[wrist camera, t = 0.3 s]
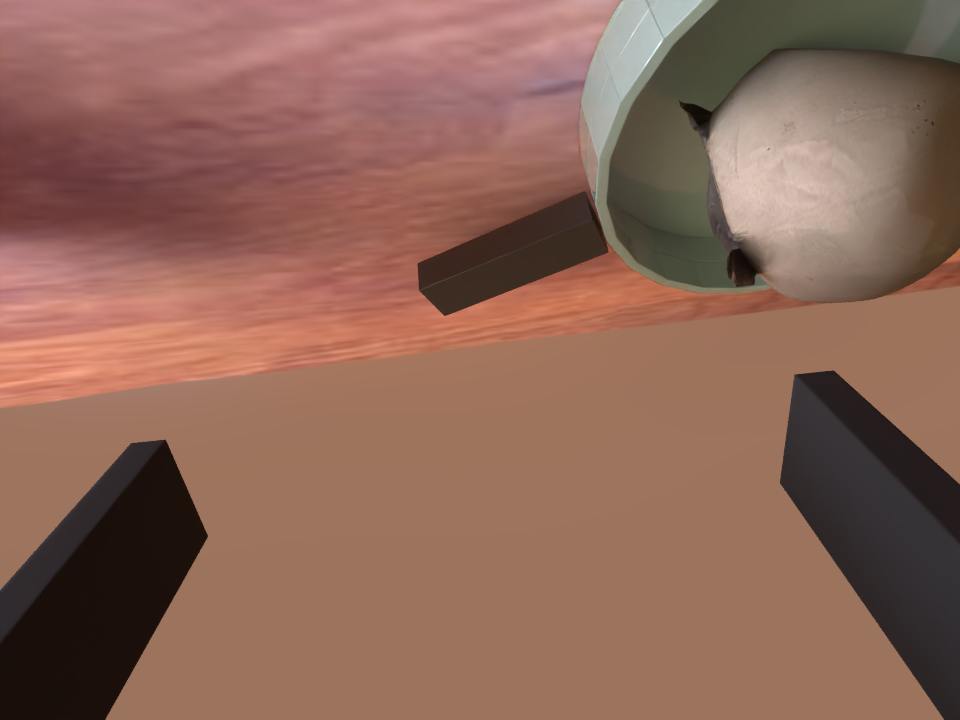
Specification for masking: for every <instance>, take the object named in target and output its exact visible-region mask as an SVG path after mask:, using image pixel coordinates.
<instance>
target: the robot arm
mask: <svg viewBox="0 0 960 720" xmlns="http://www.w3.org/2000/svg"><path fill="white" fill-rule="evenodd" d="M780 484H781V485H782V486H783V488H784V489H785V491H786V492H787V494H788V495H789V497H790V498H791V499H792V501H793V502H794V504H795V505H796V507H797V508H798V509H799V511H800V512H801V514H802V515H803V517H804V518H805V520H806V521H807V523H808V524H809V525H810V527H811V528H812V530H813V531H814V533H815V534H816V535H817V537H818V538H819V540H820V541H821V543H822V544H823V546H824V547H825V548H826V550H827V551H828V553H829V554H830V556H831V557H832V558H833V560H834V561H835V563H836V564H837V566H838V567H839V569H840V570H841V571H842V573H843V574H844V576H845V577H846V578H847V580H848V582H849V583H850V584H851V586H852V587H853V589H854V590H855V592H856V593H857V595H858V596H859V597H860V599H861V600H862V602H863V603H864V604H865V606H866V607H867V609H868V610H869V612H870V613H871V615H872V616H873V617H874V619H875V620H876V622H877V623H878V625H879V626H880V628H881V629H882V631H883V632H884V633H885V635H886V636H887V638H888V639H889V641H890V642H891V643H892V645H893V646H894V648H895V649H896V651H897V652H898V653H899V655H900V656H901V658H902V659H903V661H904V662H905V664H906V665H907V666H908V668H909V669H910V671H911V672H912V674H913V675H914V677H915V678H916V679H917V681H918V682H919V684H920V685H921V687H922V688H923V690H924V691H925V692H926V694H927V695H928V697H929V698H930V700H931V701H932V703H933V704H934V705H935V707H936V708H937V710H938V711H939V713H940V714H941V716H942V717H943V718H944V720H960V484H958V482H957V481H955V480H954V479H953V478H952V477H951V476H950V475H949V474H948V473H947V472H945V471H944V470H943V469H942V468H941V467H940V466H939V465H937V463H935V462H934V461H933V460H932V459H931V458H930V457H929V456H928V455H927V454H925V453H924V452H923V451H922V450H921V449H920V448H919V447H918V446H917V445H915V444H914V443H913V442H912V441H911V440H910V439H909V438H908V437H907V436H906V435H904V434H903V433H902V432H901V431H900V430H899V429H898V428H897V427H896V426H895V425H893V424H892V423H891V422H890V421H889V420H888V419H887V418H886V417H885V416H883V415H882V414H881V413H880V412H879V411H878V410H877V409H876V408H874V407H873V406H872V405H871V404H870V403H869V402H868V401H867V400H866V399H865V398H863V397H862V396H861V395H860V394H859V393H858V392H857V391H856V390H854V388H852V387H851V386H850V385H849V384H848V383H847V382H846V381H845V380H844V379H843V378H841V377H840V376H839V375H838V374H837V373H836V372H835V371H825V372H816V373H805V374H797V375H794V383H793V390H792V398H791V405H790V412H789V420H788V427H787V434H786V442H785V449H784V456H783V464H782V471H781V479H780ZM207 537H208V535H207V533H206V531H205V529H204V526H203V524H202V522H201V520H200V517H199V515H198V512H197V510H196V508H195V505H194V503H193V501H192V499H191V497H190V494H189V492H188V490H187V487H186V485H185V483H184V480H183V478H182V476H181V474H180V471H179V469H178V467H177V464H176V462H175V460H174V458H173V455H172V453H171V451H170V448H169V446H168V444H167V442H166V440H158V441H149V442H139V443H131V444H130V445H129V446H128V447H127V449H126V450H125V451H124V452H123V453H122V454H121V455H120V457H119V458H118V459H117V460H116V461H115V462H114V463H113V464H112V466H111V467H110V468H109V469H108V470H107V471H106V472H105V473H104V475H103V476H102V477H101V478H100V479H99V480H98V481H97V482H96V483H95V485H94V486H93V487H92V488H91V489H90V490H89V491H88V492H87V493H86V495H85V496H84V497H83V498H82V499H81V500H80V501H79V502H78V504H77V505H76V506H75V507H74V508H73V509H72V510H71V511H70V513H69V514H68V515H67V516H66V517H65V518H64V519H63V520H62V522H61V523H60V524H59V525H58V526H57V527H56V528H55V530H54V531H53V532H52V533H51V534H50V535H49V536H48V537H47V538H46V539H45V541H44V542H43V543H42V544H41V545H40V546H39V547H38V549H37V550H36V551H35V552H34V553H33V554H32V555H31V556H30V557H29V559H28V560H27V561H26V562H25V563H24V564H23V565H22V567H21V568H20V569H19V570H18V571H17V572H16V573H15V574H14V576H13V577H12V578H11V579H10V580H9V581H8V582H7V583H6V585H4V587H3V588H2V589H1V590H0V720H105V719H106V717H107V715H108V714H109V712H110V710H111V708H112V706H113V705H114V703H115V701H116V699H117V698H118V696H119V694H120V692H121V690H122V689H123V687H124V685H125V683H126V682H127V680H128V678H129V676H130V675H131V673H132V671H133V669H134V667H135V666H136V664H137V662H138V660H139V658H140V657H141V655H142V653H143V651H144V649H145V648H146V646H147V644H148V642H149V640H150V639H151V637H152V635H153V634H154V632H155V630H156V628H157V626H158V625H159V623H160V621H161V619H162V617H163V616H164V614H165V612H166V610H167V608H168V607H169V605H170V603H171V602H172V600H173V598H174V596H175V594H176V593H177V591H178V589H179V587H180V586H181V584H182V582H183V580H184V578H185V577H186V575H187V573H188V571H189V569H190V568H191V566H192V564H193V562H194V561H195V559H196V557H197V555H198V553H199V552H200V549H201V548H202V546H203V545H204V543H205V541H206V539H207Z"/></svg>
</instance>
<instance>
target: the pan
mask: <svg viewBox="0 0 960 720" xmlns="http://www.w3.org/2000/svg"><path fill="white" fill-rule="evenodd" d="M785 48H815V49H848V50H884V51H890V52H897V53H903V54H910V55H918V56H926V57H933V58H940V59H944V60H948V61H952V62H956V63H959V64H960V0H622V1H621V2H620V4H619V5H618V7H617V8H616V10H615V12H614V14H613V16H612V17H611V19H610V21H609V23H608V25H607V27H606V29H605V31H604V33H603V35H602V37H601V39H600V41H599V43H598V46H597V48H596V51H595V54H594V56H593V59H592V62H591V64H590V67H589V69H588V73H587V77H586V81H585V85H584V89H583V93H582V97H581V106H580V116H579V138H580V146H579V150H580V154H581V158H582V161H583V165H584V168H585V172H586V175H587V178H588V182H589V186H590V189H591V193H592V196H593V200H594V203H595V207H596V210H597V213H598V216H599V219H600V222H601V225H602V229H603V232H604V235H605V238H606V241H607V242H608V244H609V245H610V246H611V247H612V248H613V249H614V251H615V252H616V253H617V254H618V255H619V256H620V258H621V259H622V260H623V261H624V262H625V263H626V265H627V266H628V267H630V268H631V269H632V270H634V271H636V272H638V273H640V274H642V275H643V276H645V277H647V278H649V279H651V280H653V281H654V282H656V283H658V284H661V285H663V286H668V287H672V288H677V289H681V290H686V291H690V292H694V293H720V294H740V293H741V294H742V293H749V292H755V291H762V290H769V289H773V288H772V287H771V286H769V285H768V284H767V283H766V282H765V281H763V280H762V279H761V278H760V277H758V276H757V275H756V276H755V284H754V285H750V286H742V287H736V285H735V283H734V282H733V281H732V280H730V279H729V278H728V273H727V269H726V266H727V258H728V256H729V253H728V252H727V251H726V250H725V248H724V246H723V245H722V243H721V242H720V240H719V239H718V238H717V237H716V236H715V235H714V233H713V231H712V229H711V226H710V223H709V218H708V212H707V191H708V179H709V165H708V160H707V156H706V152H705V149H704V146H703V143H702V140H701V138H700V136H699V134H698V132H697V131H695V130H694V129H693V128H692V127H691V124H690V121H689V118H688V115H687V113H686V112H685V111H684V110H683V109H682V108H681V107H680V103H679V100H680V102H682V103H689V104H696V105H698V106H700V107H702V108H704V109H706V110H708V111H710V112H712V111H713V110H714V109H715V108H716V107H717V106H718V105H719V104H720V103H721V102H722V101H723V100H724V99H725V98H726V97H727V95H728V94H729V93H730V91H731V90H732V89H733V88H734V87H735V85H736V84H737V83H738V82H739V81H740V80H741V78H742V77H743V76H744V75H745V74H746V73H747V72H748V71H749V70H750V69H751V68H752V67H753V66H755V65H756V64H757V63H758V62H759V61H760V60H762V59H763V58H764V57H765V56H767V55H768V54H769V53H770V52H771V51H773V50H775V49H785Z"/></svg>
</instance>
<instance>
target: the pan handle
mask: <svg viewBox="0 0 960 720" xmlns="http://www.w3.org/2000/svg"><path fill="white" fill-rule="evenodd" d="M606 253H608V248H607V244H606V241H605V237H604V234H603V230H602V227H601V224H600V222H599V220H598V218H597V216H596V214H595V212H594V209H593V207H592V205H591V203H590V201H589V199H588V197H587V195H586V192H582V193H579V194H577V195H575V196H573V197H570V198H568V199H566V200H563V201H561V202H559V203H556V204H554V205H552V206H549V207H547V208H545V209H542V210H540V211H538V212H535V213H533V214H531V215H528V216H526V217H524V218H521V219H519V220H517V221H514V222H512V223H510V224H508V225H505V226H503V227H501V228H498V229H496V230H494V231H491V232H489V233H487V234H484V235H482V236H480V237H477V238H475V239H473V240H470V241H468V242H466V243H463V244H461V245H459V246H456V247H454V248H452V249H450V250H447V251H445V252H443V253H440V254H438V255H436V256H433V257H431V258H429V259H426V260H424V261H422V262H419V263H418V280H419V291H420V292H421V293H422V294H423V295H424V296H425V297H426V298H427V299H428V300H429V301H430V302H431V303H432V304H433V305H434V306H435V307H436V308H437V309H438V310H439V311H440V312H441V313H442V314H443V315H444V316H446V315H449V314H451V313H454V312H457V311H459V310H462V309H464V308H467V307H469V306H472V305H475V304H477V303H480V302H482V301H485V300H487V299H490V298H493V297H495V296H498V295H500V294H503V293H505V292H508V291H511V290H513V289H516V288H518V287H521V286H523V285H526V284H528V283H531V282H534V281H536V280H539V279H541V278H544V277H546V276H549V275H552V274H554V273H557V272H559V271H562V270H564V269H567V268H570V267H572V266H575V265H577V264H580V263H582V262H585V261H588V260H590V259H593V258H595V257H598V256H600V255H603V254H606Z"/></svg>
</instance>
